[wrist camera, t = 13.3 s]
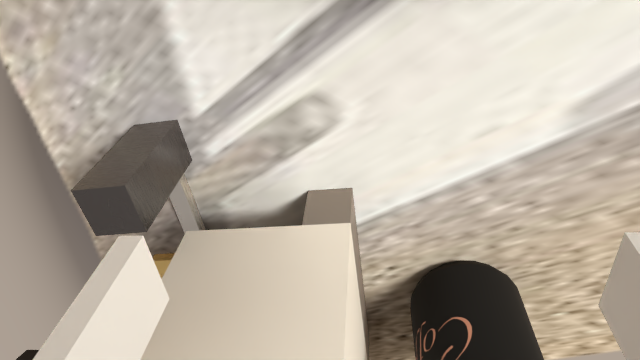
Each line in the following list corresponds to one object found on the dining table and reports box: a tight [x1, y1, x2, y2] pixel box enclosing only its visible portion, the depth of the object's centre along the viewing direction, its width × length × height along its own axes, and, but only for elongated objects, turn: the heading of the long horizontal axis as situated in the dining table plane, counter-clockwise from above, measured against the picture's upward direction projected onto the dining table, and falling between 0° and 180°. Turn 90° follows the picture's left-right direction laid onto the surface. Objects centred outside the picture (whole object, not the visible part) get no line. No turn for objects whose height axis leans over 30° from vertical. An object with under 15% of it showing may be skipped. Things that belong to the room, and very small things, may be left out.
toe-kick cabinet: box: [141, 188, 369, 360], centre depth 39 cm, size 21×16×20 cm
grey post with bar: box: [71, 120, 206, 236], centre depth 40 cm, size 20×4×10 cm, turn 10°
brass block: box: [153, 253, 175, 279], centre depth 48 cm, size 5×5×2 cm
